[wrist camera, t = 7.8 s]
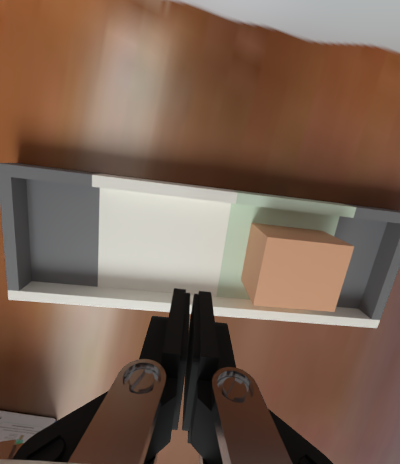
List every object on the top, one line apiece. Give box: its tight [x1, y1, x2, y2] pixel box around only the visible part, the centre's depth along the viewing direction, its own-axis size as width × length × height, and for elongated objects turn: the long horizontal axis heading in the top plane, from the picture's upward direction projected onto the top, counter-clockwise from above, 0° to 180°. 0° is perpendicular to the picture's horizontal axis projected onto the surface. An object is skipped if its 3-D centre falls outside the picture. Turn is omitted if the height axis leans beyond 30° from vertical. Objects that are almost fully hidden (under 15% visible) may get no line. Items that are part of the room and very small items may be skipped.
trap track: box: [0, 163, 400, 328], centre depth 20 cm, size 30×10×2 cm, turn 83°
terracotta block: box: [241, 223, 354, 312], centre depth 19 cm, size 6×5×4 cm
